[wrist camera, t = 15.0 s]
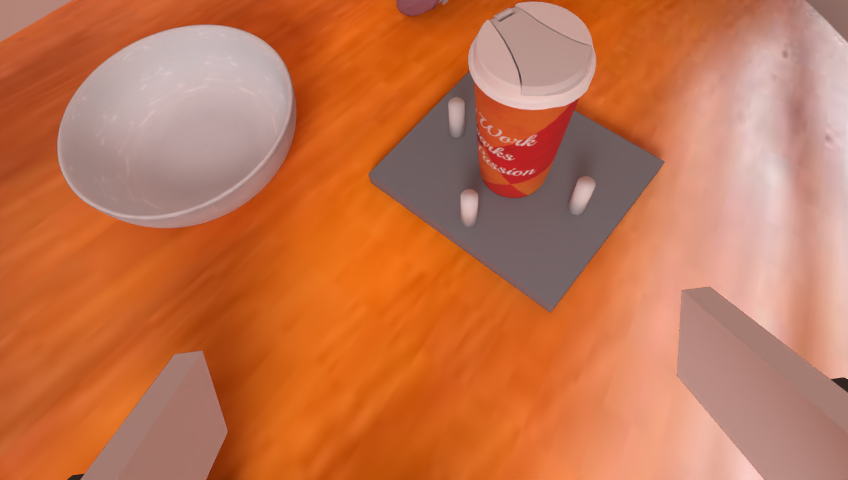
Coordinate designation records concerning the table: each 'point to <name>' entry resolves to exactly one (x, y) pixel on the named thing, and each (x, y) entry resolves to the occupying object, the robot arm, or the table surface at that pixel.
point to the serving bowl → (179, 127)
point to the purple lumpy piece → (417, 6)
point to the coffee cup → (527, 91)
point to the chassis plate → (517, 217)
